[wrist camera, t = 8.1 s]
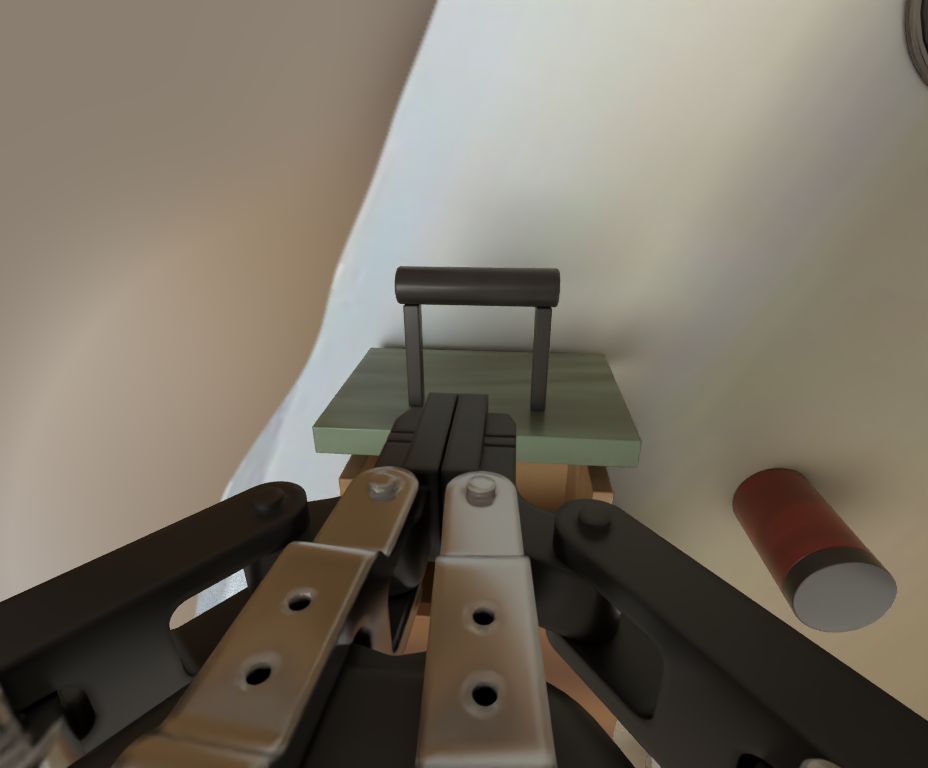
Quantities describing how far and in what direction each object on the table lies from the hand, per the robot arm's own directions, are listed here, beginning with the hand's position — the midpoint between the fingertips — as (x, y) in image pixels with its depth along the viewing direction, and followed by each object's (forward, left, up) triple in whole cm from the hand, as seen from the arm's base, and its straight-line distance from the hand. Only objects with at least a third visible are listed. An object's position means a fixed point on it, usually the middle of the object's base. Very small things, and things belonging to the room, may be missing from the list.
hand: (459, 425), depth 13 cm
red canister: (+12, +17, -15) cm, 26 cm away
